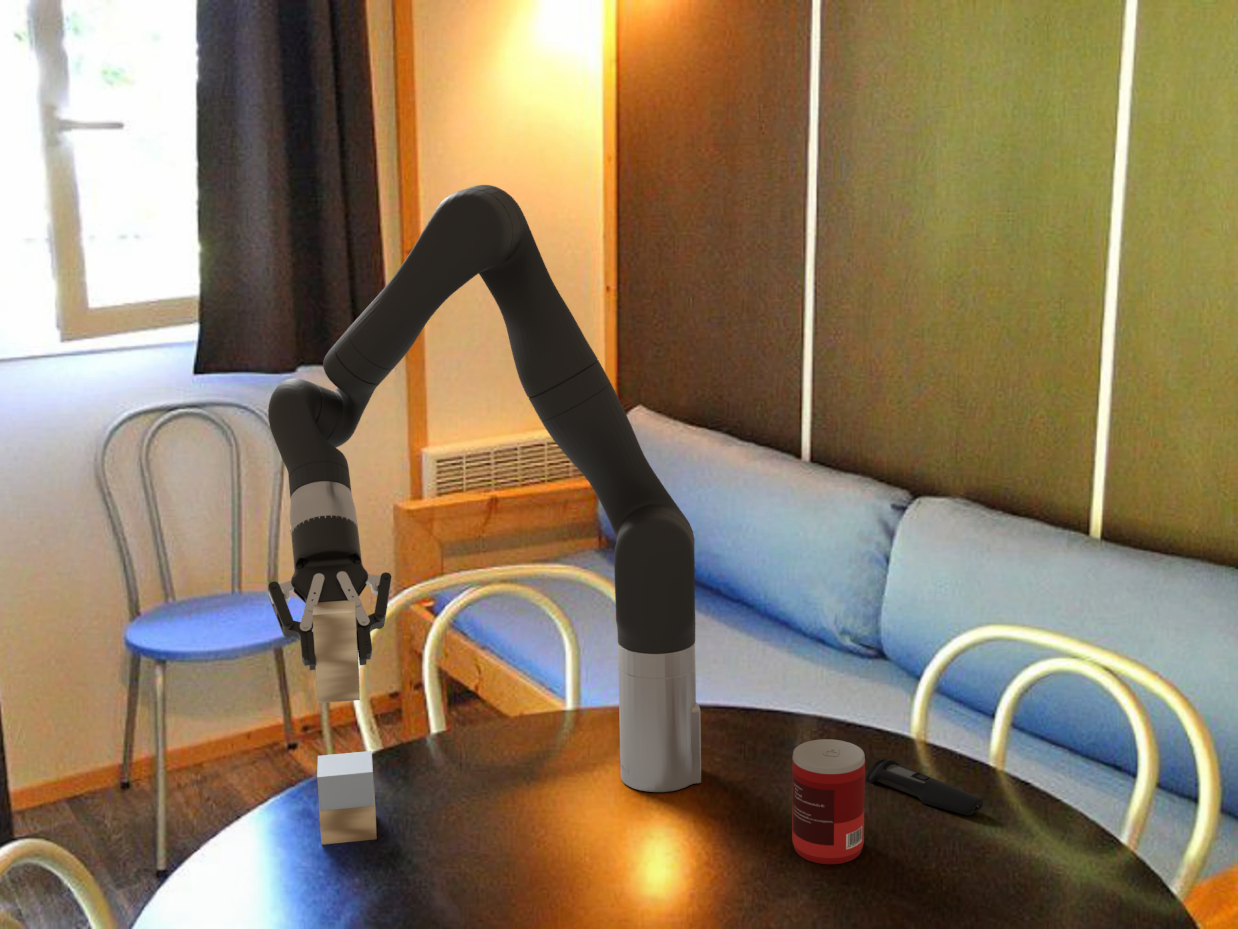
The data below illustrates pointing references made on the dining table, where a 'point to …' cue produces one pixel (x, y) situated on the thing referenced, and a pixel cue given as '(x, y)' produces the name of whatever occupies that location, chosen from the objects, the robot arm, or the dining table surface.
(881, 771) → the electric trimmer
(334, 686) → the maple block
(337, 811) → the tower base
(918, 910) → the dining table surface
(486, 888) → the dining table surface
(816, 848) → the canned food
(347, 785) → the tower mid
